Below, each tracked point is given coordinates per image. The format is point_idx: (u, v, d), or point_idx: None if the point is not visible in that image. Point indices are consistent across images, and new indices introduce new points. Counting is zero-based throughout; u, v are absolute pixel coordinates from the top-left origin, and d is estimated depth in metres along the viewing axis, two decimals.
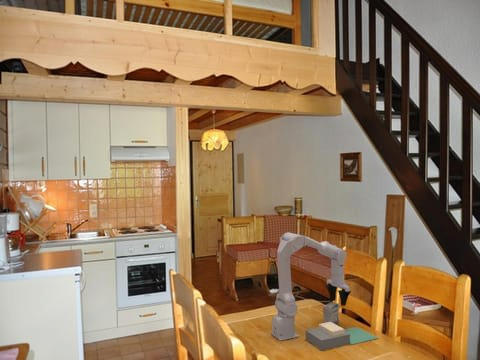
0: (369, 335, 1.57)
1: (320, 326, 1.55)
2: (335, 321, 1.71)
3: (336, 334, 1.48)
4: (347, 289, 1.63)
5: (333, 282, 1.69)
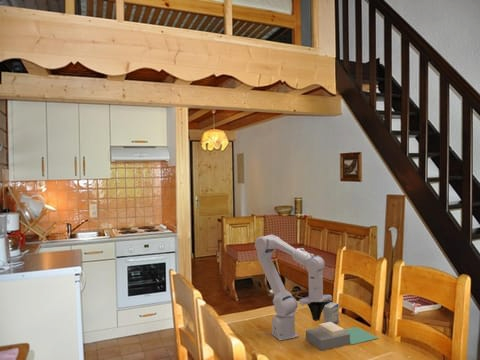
0: (369, 335, 1.57)
1: (320, 326, 1.55)
2: (335, 321, 1.71)
3: (336, 334, 1.48)
4: (300, 302, 1.47)
5: None
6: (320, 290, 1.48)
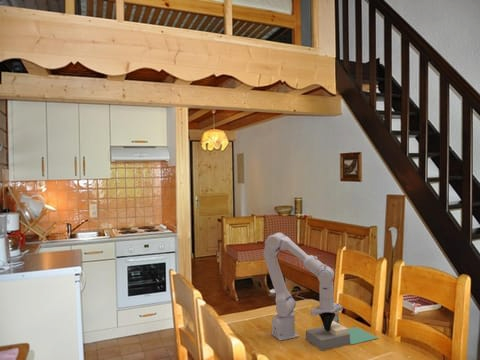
0: (369, 335, 1.57)
1: (323, 325, 1.56)
2: (335, 321, 1.71)
3: (340, 333, 1.49)
4: (311, 312, 1.50)
5: None
6: (331, 301, 1.50)
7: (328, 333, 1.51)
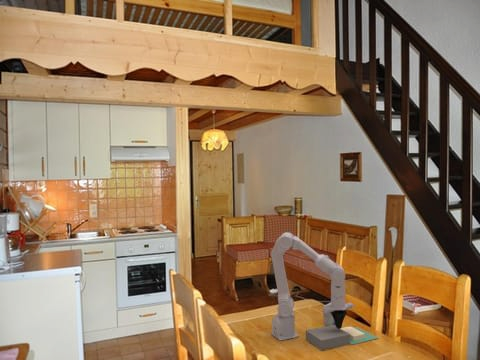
0: (369, 335, 1.57)
1: None
2: None
3: (361, 336, 1.53)
4: (323, 310, 1.52)
5: None
6: (343, 299, 1.52)
7: (328, 333, 1.51)
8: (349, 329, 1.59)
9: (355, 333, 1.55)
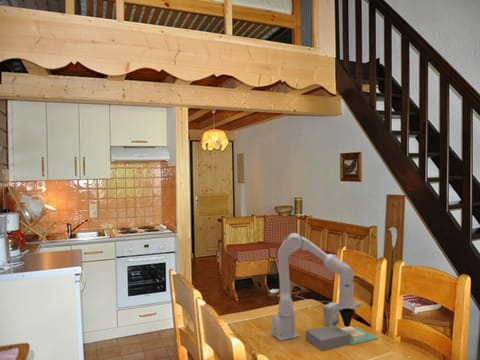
0: (369, 335, 1.57)
1: None
2: (335, 321, 1.71)
3: (361, 336, 1.53)
4: (331, 308, 1.54)
5: None
6: (351, 297, 1.54)
7: (328, 333, 1.51)
8: (349, 329, 1.59)
9: (355, 333, 1.55)
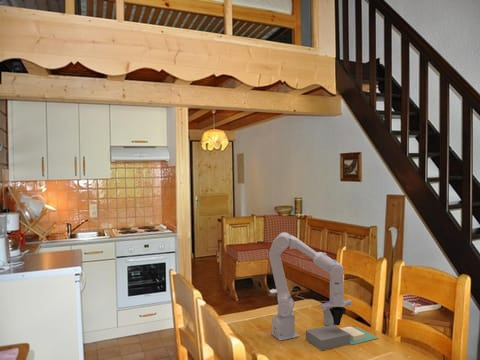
0: (369, 335, 1.57)
1: None
2: None
3: (361, 336, 1.53)
4: (321, 306, 1.52)
5: None
6: (341, 295, 1.52)
7: (328, 333, 1.51)
8: (349, 329, 1.59)
9: (355, 333, 1.55)
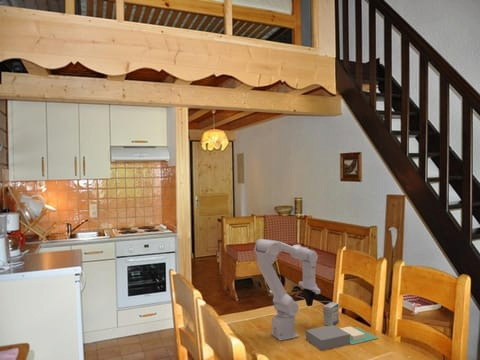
0: (369, 335, 1.57)
1: None
2: (335, 321, 1.71)
3: (361, 336, 1.53)
4: (317, 291, 1.61)
5: (304, 284, 1.66)
6: None
7: (328, 333, 1.51)
8: (349, 329, 1.59)
9: (355, 333, 1.55)
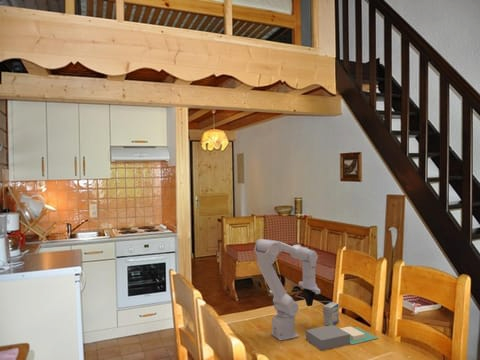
0: (369, 335, 1.57)
1: None
2: (335, 321, 1.71)
3: (361, 336, 1.53)
4: (317, 291, 1.61)
5: (304, 284, 1.66)
6: None
7: (328, 333, 1.51)
8: (349, 329, 1.59)
9: (355, 333, 1.55)
